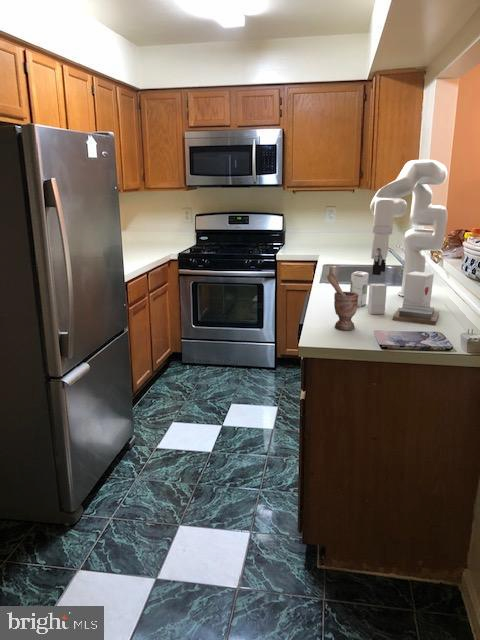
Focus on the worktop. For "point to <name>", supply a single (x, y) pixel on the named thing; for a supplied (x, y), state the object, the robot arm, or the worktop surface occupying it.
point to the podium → (416, 314)
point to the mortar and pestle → (343, 305)
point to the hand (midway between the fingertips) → (378, 273)
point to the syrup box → (359, 286)
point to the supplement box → (418, 289)
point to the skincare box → (377, 298)
